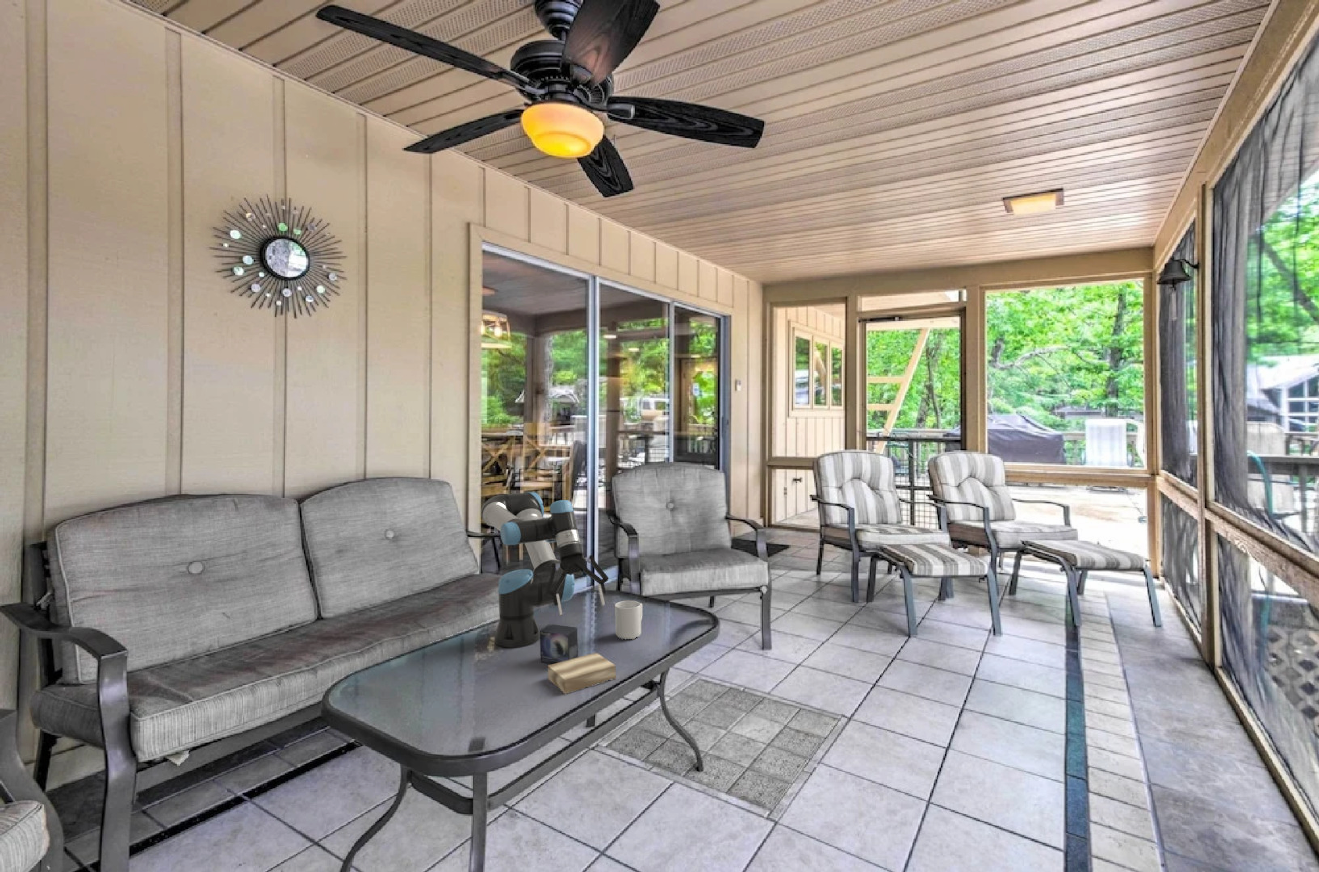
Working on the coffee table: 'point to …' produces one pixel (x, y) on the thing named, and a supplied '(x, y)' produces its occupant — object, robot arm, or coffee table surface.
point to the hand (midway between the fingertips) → (582, 610)
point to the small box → (558, 643)
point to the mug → (628, 619)
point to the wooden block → (581, 672)
